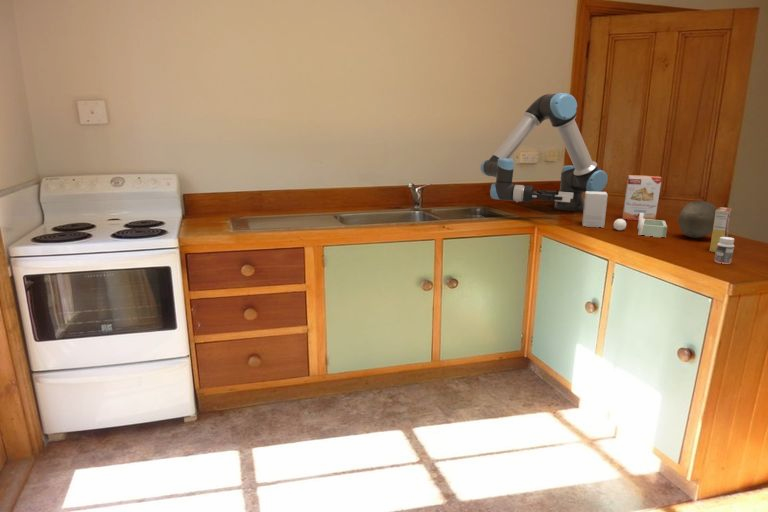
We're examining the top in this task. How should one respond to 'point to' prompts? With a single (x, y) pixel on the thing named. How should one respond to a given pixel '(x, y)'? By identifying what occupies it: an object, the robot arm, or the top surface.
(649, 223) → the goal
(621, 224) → the ball
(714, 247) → the candy box
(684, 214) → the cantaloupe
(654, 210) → the cracker box
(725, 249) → the pill bottle
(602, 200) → the supplement box
